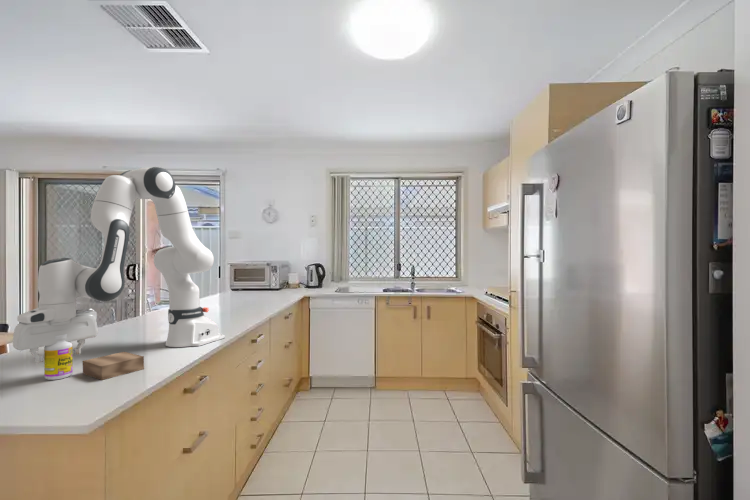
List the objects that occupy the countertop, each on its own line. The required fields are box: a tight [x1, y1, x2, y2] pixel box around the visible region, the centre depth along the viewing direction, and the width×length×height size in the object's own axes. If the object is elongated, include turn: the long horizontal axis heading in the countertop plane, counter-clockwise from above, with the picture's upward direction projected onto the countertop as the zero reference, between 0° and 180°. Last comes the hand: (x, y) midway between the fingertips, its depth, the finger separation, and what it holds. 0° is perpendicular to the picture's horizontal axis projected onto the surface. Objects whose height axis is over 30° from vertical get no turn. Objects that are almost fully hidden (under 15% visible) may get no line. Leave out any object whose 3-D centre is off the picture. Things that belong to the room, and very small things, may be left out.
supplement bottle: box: [43, 334, 74, 381], centre depth 119 cm, size 7×7×13 cm
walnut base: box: [82, 351, 145, 381], centre depth 123 cm, size 12×12×4 cm
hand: (58, 358), depth 119 cm, fingers open, 8 cm apart
